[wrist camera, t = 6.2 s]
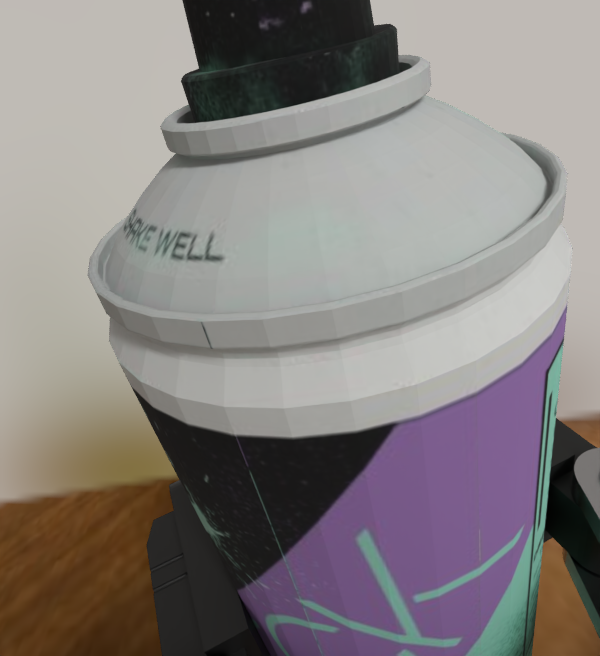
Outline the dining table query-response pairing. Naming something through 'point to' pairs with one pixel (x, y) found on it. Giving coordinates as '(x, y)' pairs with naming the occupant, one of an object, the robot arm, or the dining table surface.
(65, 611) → the dining table surface
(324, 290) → the spray can
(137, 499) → the dining table surface
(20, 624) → the dining table surface
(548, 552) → the dining table surface
